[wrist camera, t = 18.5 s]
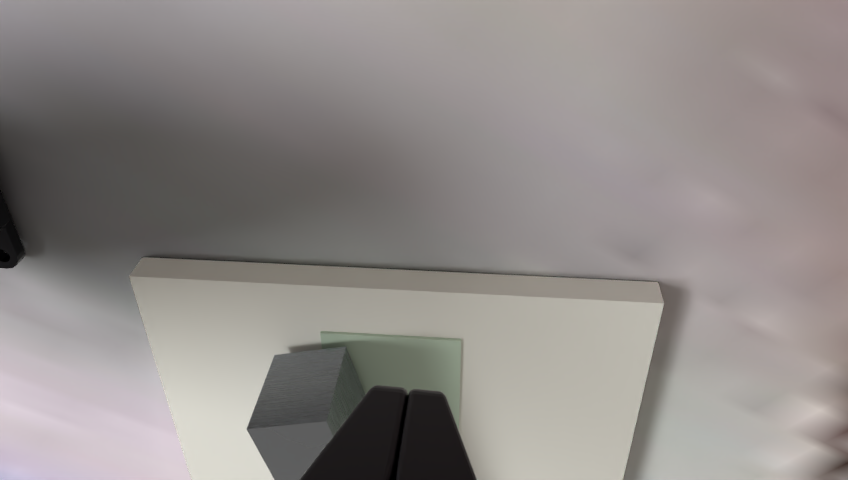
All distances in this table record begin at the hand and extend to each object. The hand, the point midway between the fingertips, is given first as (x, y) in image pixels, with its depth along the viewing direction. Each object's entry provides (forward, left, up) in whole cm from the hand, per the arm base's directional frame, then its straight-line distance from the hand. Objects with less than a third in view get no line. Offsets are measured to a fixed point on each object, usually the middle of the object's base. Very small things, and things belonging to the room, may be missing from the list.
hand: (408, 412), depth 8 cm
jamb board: (-2, -20, -12) cm, 23 cm away
